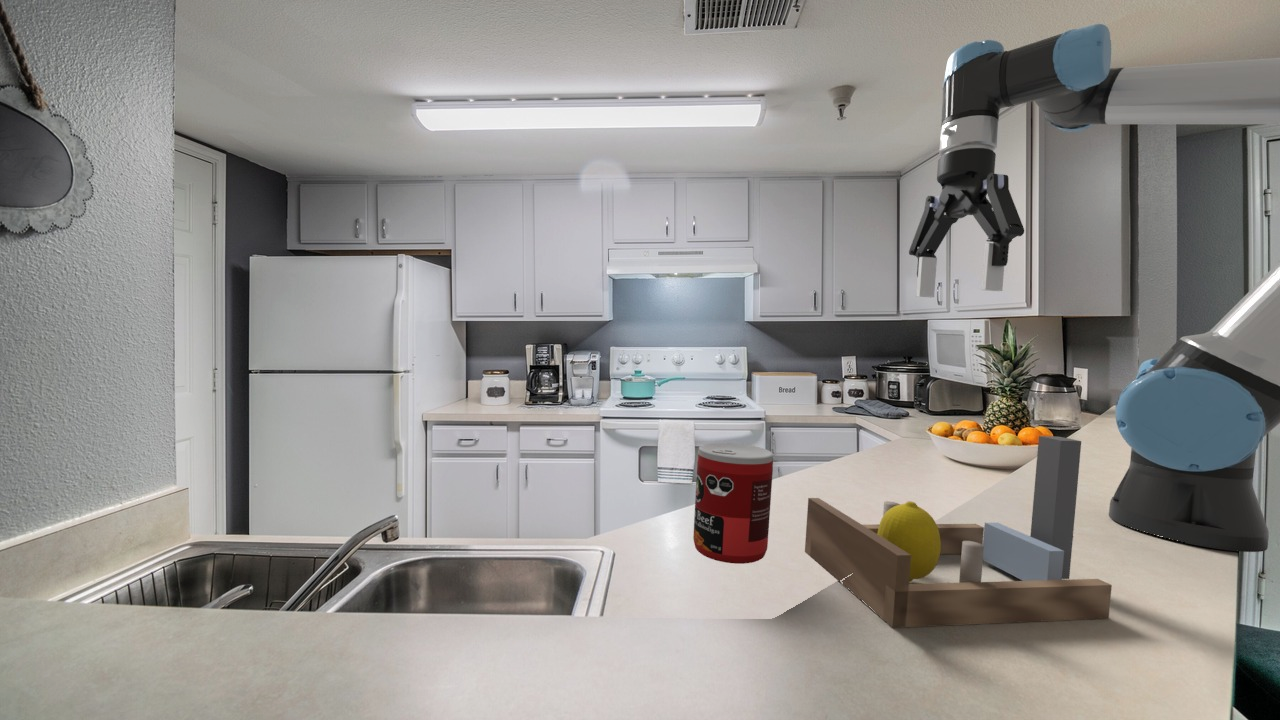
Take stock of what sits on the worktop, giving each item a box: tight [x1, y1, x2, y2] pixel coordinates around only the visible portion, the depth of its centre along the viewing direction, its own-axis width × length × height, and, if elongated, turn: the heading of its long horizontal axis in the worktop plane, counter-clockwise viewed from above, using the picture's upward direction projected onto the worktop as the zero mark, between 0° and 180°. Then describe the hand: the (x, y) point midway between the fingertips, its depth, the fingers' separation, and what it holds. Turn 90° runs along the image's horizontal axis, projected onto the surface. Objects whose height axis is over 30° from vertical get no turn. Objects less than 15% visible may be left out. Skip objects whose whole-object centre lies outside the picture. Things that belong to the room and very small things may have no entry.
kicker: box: [983, 435, 1082, 581], centre depth 54 cm, size 6×8×14 cm
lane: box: [804, 497, 1113, 629], centre depth 52 cm, size 21×15×6 cm
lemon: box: [877, 500, 941, 583], centre depth 52 cm, size 6×6×8 cm
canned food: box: [692, 442, 774, 565], centre depth 58 cm, size 8×8×11 cm
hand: (955, 294), depth 82 cm, fingers open, 13 cm apart
